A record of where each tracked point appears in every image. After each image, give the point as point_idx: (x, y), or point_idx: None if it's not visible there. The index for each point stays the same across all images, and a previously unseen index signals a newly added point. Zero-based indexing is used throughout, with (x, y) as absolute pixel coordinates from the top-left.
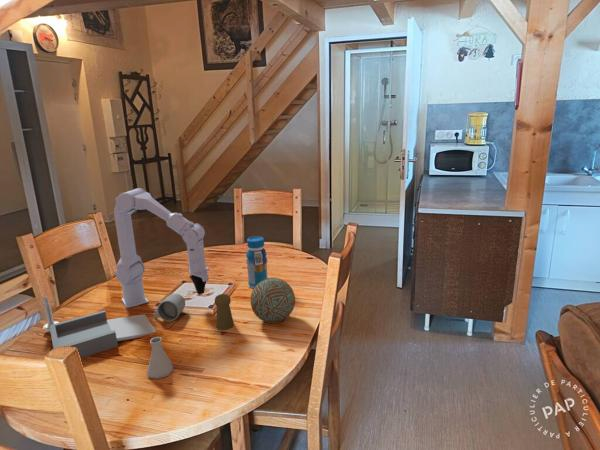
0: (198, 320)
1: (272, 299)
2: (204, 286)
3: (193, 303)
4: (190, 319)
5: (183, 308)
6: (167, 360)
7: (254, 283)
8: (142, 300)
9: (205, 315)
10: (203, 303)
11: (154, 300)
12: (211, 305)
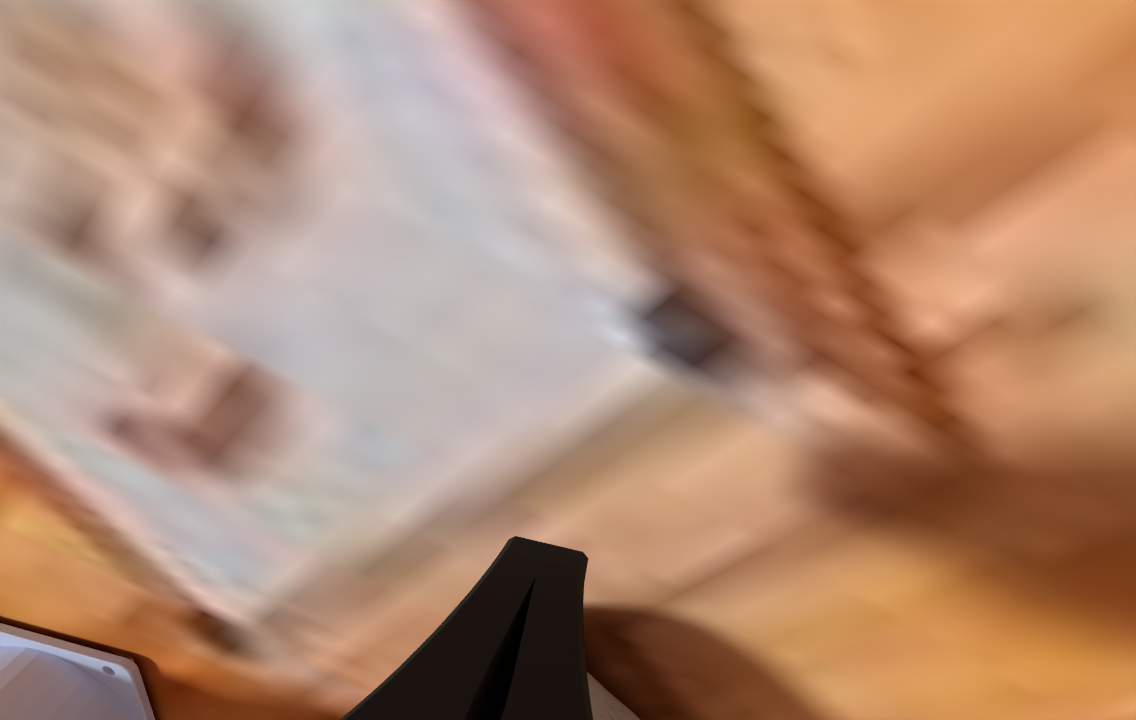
0: (898, 637)
1: None
2: (588, 698)
3: (415, 433)
4: (786, 662)
5: (597, 699)
6: None
7: None
8: (104, 705)
9: (866, 529)
10: (508, 352)
11: (112, 610)
12: (662, 313)
